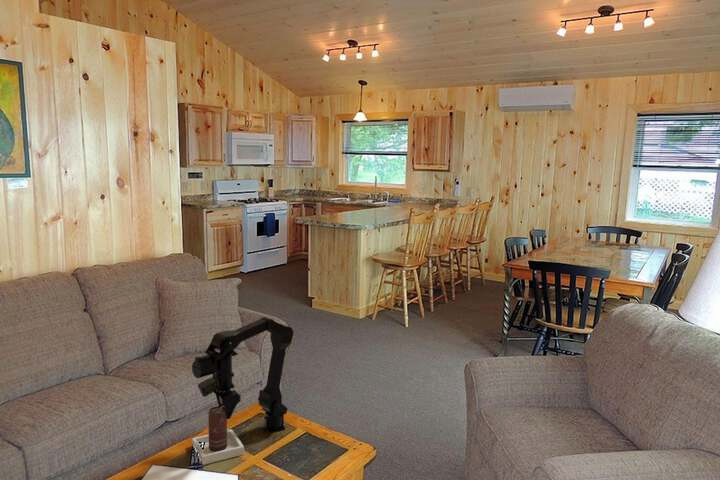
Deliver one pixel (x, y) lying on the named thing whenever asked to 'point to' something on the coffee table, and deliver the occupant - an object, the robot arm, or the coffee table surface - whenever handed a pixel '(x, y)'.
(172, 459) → the coffee table surface
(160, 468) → the coffee table surface
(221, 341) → the robot arm
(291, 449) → the coffee table surface
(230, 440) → the tray
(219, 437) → the can
